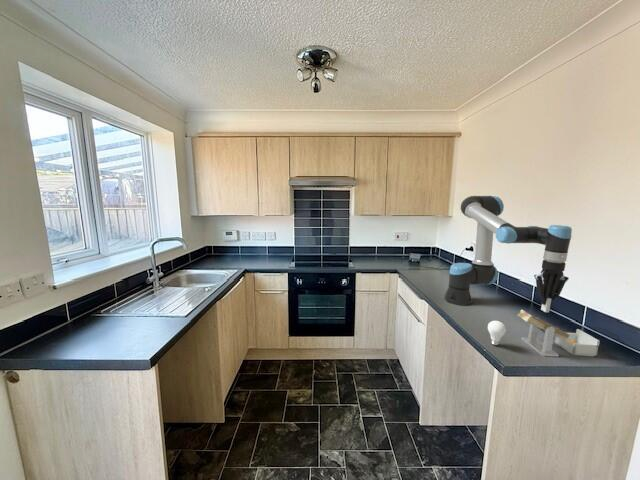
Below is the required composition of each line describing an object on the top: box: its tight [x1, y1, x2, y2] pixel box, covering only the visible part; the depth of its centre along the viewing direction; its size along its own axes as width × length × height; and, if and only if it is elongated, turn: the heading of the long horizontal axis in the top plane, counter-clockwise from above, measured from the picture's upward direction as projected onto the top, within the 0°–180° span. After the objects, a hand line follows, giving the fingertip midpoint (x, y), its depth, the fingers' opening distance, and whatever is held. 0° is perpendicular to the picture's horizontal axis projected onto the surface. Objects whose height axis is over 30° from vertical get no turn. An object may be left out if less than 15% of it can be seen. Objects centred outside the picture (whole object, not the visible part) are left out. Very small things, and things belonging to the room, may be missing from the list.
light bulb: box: [487, 320, 507, 346], centre depth 114 cm, size 7×7×11 cm
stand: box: [520, 316, 559, 358], centre depth 112 cm, size 13×6×12 cm, turn 175°
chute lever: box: [517, 309, 569, 340], centre depth 115 cm, size 14×18×4 cm
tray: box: [553, 328, 600, 357], centre depth 112 cm, size 10×9×7 cm
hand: (544, 311), depth 119 cm, fingers closed
